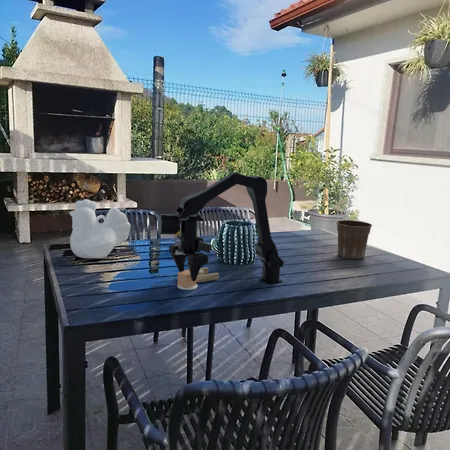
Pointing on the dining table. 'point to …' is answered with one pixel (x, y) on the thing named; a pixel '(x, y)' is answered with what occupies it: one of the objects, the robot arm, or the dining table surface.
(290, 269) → the dining table surface
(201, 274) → the beige rectangular block
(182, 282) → the block
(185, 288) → the white flat disc
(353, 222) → the plant pot
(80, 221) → the decorative rooster
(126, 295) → the dining table surface
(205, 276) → the channel
